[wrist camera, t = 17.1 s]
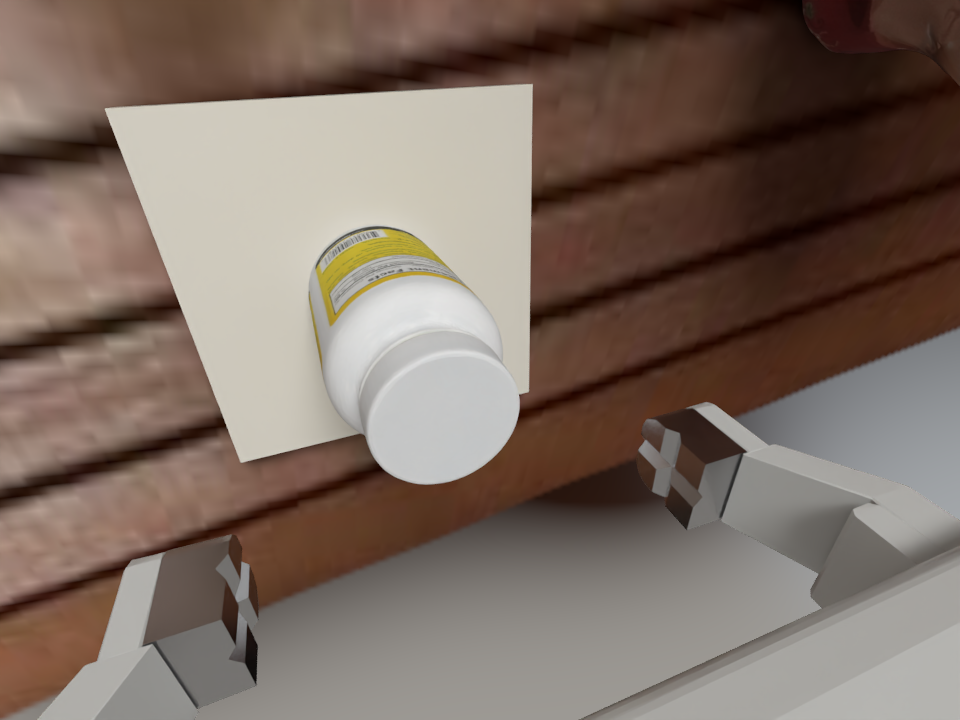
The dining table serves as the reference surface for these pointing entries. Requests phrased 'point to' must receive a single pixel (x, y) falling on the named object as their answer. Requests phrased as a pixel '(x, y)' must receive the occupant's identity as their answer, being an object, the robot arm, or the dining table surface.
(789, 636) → the robot arm
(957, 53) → the decorative planter
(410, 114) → the tile
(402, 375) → the supplement bottle
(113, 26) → the dining table surface
